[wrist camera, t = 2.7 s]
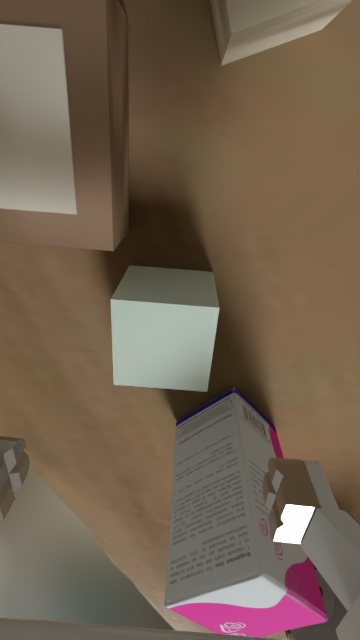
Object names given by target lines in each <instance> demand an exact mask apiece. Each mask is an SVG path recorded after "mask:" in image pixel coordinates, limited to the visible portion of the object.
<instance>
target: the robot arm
mask: <svg viewBox="0 0 360 640" xmlns="http://www.w3.org/2000/svg"><path fill="white" fill-rule="evenodd" d="M25 447H26V444H25V440H24V439H22V438H13V437H3V436H0V520H4V519H5V517H6V515H7V513H8V511H9V509H10V507H11V505H12V503H13V502H14V500H15V497H14V491H15V490H17V489H18V488H20V487H21V486H22V485H23V483H24V480H25V478H26V476H27V473H28V469H29V457H28V455H27V454H26V453H25V452H24V449H25ZM268 469H269V472H267V473H266V474H265V476H264V480H263V496H264V502H265V505H266V506H267V508H268V509H269V510H270V515H269V518H268V521H269V525H270V530H271V534H272V539H273V541H275V542H284V543H294V544H301V545H300V546H301V547H302V549H303V550H304V552H305V553H306V554H307V556H308V557H309V559H310V560H311V561H312V563H313V564H314V565H315V567H316V568H317V570H318V571H319V572H320V574H321V575H322V576H323V578H324V579H325V581H326V582H327V583H328V585H329V586H330V588H331V589H332V590H333V592H334V593H335V594H336V596H337V597H338V599H339V600H340V601H341V603H342V604H343V605H344V607H345V608H346V610H347V613H346V614H345V616H344V617H343V619H342V620H341V622H340V623H339V625H338V627H337V628H336V633H337V636H338V640H360V525H359V524H358V523H357V522H356V521H355V520H354V519H353V518H352V517H351V516H350V515H349V514H348V513H347V512H346V511H344V510H339V507H338V505H337V503H336V500H335V498H334V496H333V493H332V491H331V489H330V486H329V484H328V482H327V479H326V477H325V475H324V472H323V470H322V468H321V465H320V464H319V462H318V461H311V460H300V459H287V458H270V459H269V462H268ZM0 640H290V639H278V638H265V637H252V636H239V635H227V634H214V633H201V632H188V631H175V630H162V629H149V628H137V627H124V626H112V625H98V624H86V623H72V622H59V621H48V620H35V619H21V618H8V617H0Z"/></svg>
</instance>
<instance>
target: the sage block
mask: <svg viewBox="0 0 360 640" xmlns="http://www.w3.org/2000/svg"><path fill="white" fill-rule="evenodd" d="M218 315H219V302H218V297H217V291H216V285H215V280H214V274H213V272H208V271H196V270H183V269H171V268H158V267H146V266H133V265H129V267H128V269H127V271H126V273H125V274H124V276H123V278H122V280H121V282H120V283H119V285H118V287H117V289H116V291H115V292H114V294H113V296H112V298H111V322H112V350H113V377H114V385H126V386H139V387H151V388H164V389H177V390H190V391H202V392H207V390H208V383H209V376H210V369H211V363H212V356H213V349H214V342H215V335H216V328H217V322H218Z"/></svg>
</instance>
